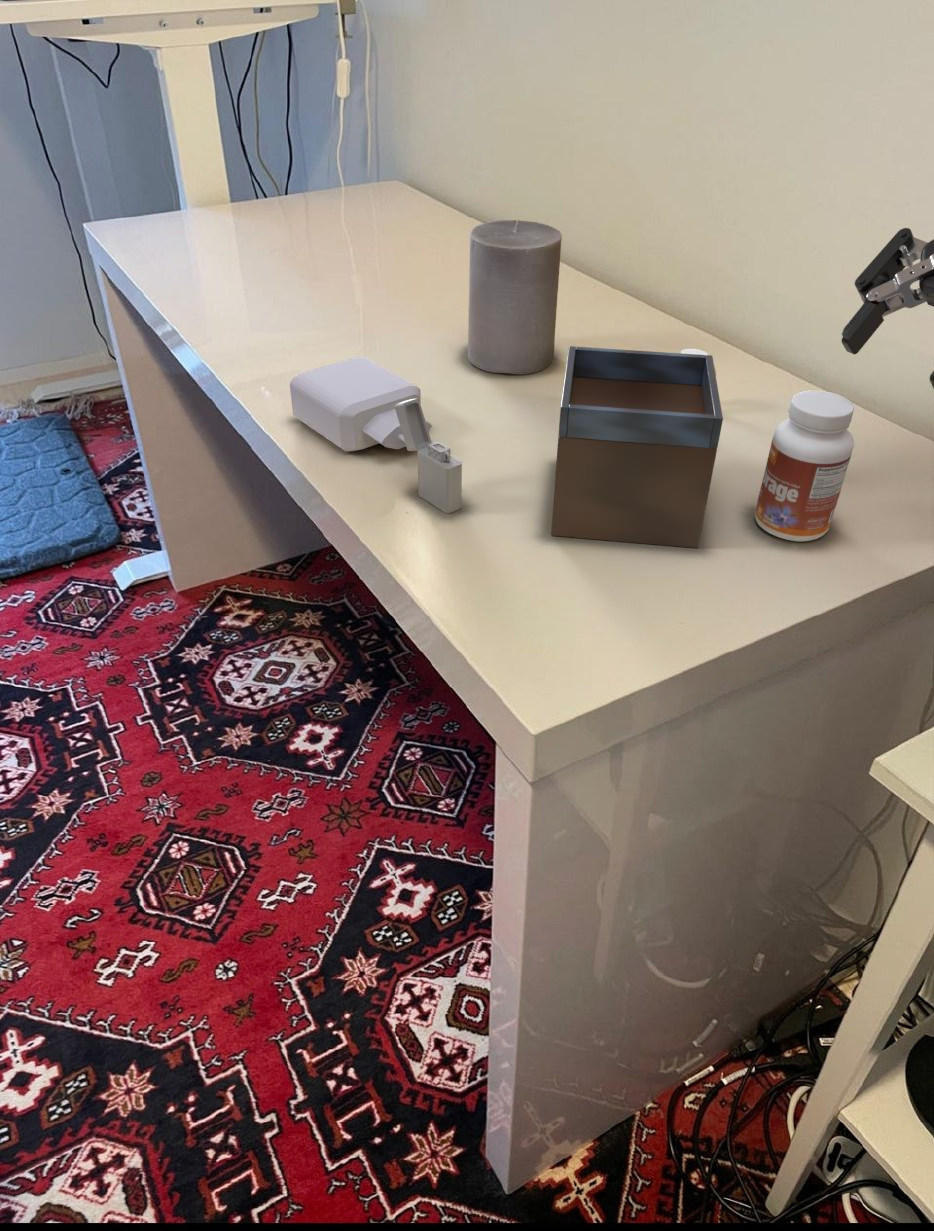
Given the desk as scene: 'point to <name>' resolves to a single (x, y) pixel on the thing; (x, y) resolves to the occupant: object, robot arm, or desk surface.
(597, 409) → the cube pen cup
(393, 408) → the charger
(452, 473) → the lighter
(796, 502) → the pill bottle
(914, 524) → the desk surface
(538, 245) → the pillar candle
